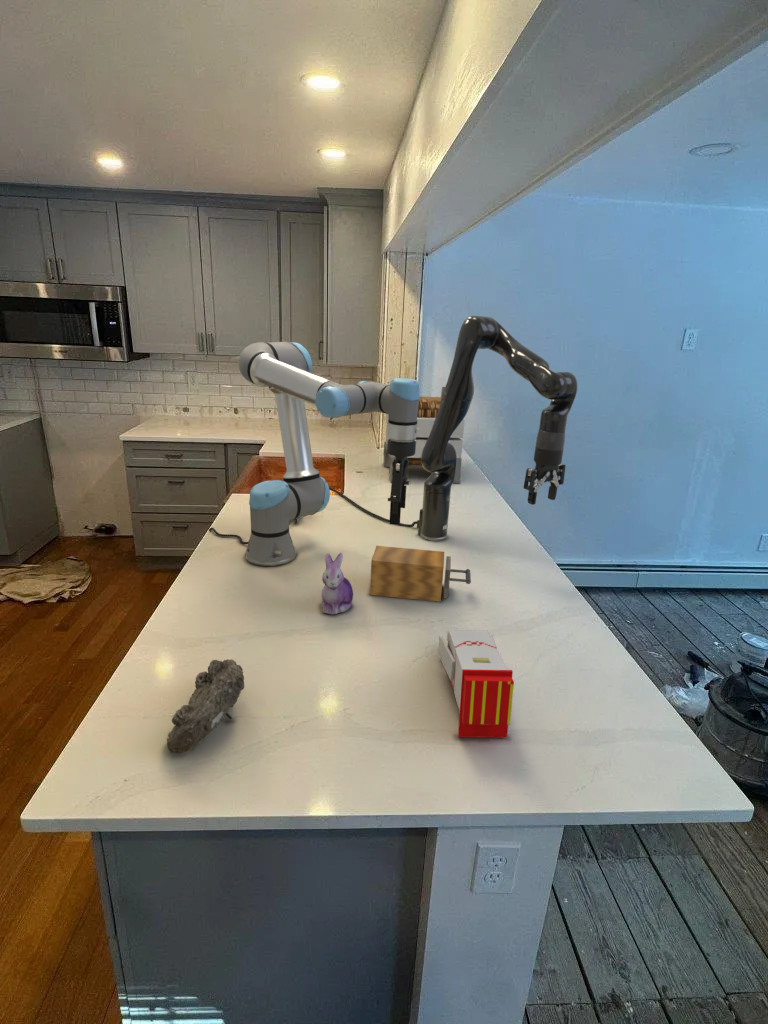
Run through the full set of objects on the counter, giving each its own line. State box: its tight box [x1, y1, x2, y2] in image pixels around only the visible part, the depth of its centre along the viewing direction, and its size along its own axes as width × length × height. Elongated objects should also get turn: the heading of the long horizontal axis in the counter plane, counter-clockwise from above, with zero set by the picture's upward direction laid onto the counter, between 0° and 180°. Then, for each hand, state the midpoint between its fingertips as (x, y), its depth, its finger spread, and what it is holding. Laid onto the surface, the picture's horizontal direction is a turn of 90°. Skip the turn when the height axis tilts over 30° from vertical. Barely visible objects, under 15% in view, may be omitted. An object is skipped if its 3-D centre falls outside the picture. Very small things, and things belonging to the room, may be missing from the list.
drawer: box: [443, 555, 472, 599], centre depth 158 cm, size 24×9×8 cm, turn 83°
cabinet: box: [369, 545, 445, 603], centre depth 159 cm, size 20×10×10 cm, turn 83°
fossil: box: [166, 658, 245, 754], centre depth 106 cm, size 22×10×15 cm
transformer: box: [383, 386, 465, 484], centre depth 268 cm, size 34×33×41 cm
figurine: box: [321, 552, 354, 615], centre depth 147 cm, size 9×10×15 cm
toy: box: [437, 628, 515, 738], centre depth 117 cm, size 12×13×30 cm
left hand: (397, 515), depth 155 cm, fingers open, 13 cm apart
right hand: (541, 501), depth 162 cm, fingers open, 8 cm apart
